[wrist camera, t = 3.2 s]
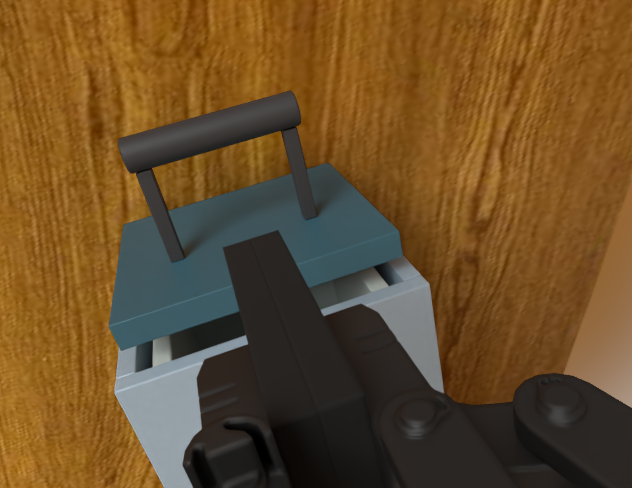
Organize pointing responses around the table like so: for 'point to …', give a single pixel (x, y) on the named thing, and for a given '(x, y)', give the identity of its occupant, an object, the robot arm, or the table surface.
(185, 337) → the drawer
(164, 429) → the cabinet
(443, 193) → the table surface
